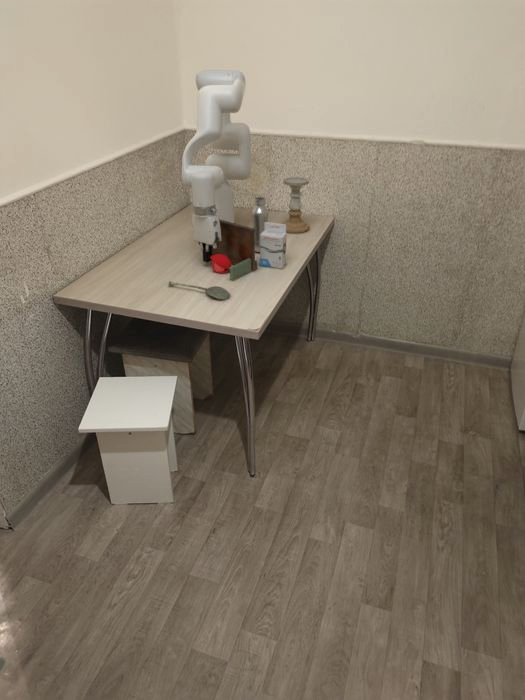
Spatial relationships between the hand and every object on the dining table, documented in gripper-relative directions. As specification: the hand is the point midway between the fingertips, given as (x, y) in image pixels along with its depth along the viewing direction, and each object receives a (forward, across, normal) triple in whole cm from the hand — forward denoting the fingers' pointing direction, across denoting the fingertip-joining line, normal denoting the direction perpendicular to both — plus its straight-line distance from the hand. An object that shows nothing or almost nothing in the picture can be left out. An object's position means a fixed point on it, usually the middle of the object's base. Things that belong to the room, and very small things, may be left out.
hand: (207, 260), depth 181 cm
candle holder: (+2, -1, -52) cm, 52 cm away
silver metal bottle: (+2, -5, -23) cm, 24 cm away
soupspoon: (+3, -12, +17) cm, 21 cm away
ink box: (+2, -17, -16) cm, 23 cm away
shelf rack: (+2, -4, -3) cm, 6 cm away
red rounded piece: (+3, -6, 0) cm, 7 cm away
